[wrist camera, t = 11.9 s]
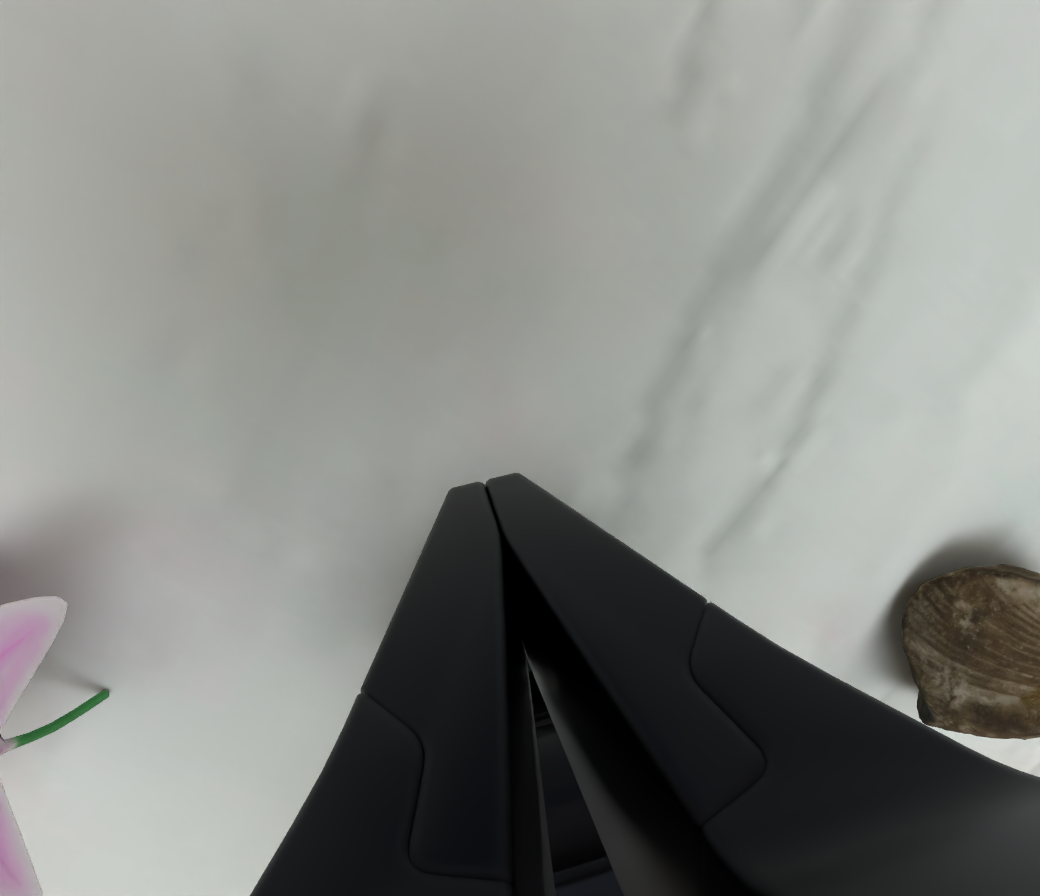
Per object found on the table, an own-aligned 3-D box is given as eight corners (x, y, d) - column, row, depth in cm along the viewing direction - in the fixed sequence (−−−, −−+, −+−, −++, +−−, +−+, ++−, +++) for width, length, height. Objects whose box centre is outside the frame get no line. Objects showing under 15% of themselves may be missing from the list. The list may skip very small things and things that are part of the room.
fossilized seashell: (1069, 709, 34) (1101, 521, 30) (1116, 830, 28) (1162, 617, 25) (888, 688, 37) (897, 513, 33) (899, 793, 31) (911, 597, 28)
